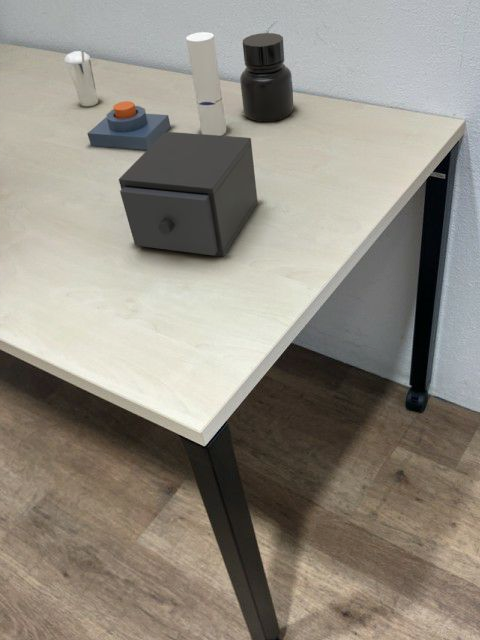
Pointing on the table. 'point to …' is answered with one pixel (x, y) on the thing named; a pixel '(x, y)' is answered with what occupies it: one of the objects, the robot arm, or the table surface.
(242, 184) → the grey drawer cabinet
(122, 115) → the button
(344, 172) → the table surface
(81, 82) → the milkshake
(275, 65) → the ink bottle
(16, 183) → the table surface
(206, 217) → the open drawer with knob
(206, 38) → the tube
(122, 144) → the button block
